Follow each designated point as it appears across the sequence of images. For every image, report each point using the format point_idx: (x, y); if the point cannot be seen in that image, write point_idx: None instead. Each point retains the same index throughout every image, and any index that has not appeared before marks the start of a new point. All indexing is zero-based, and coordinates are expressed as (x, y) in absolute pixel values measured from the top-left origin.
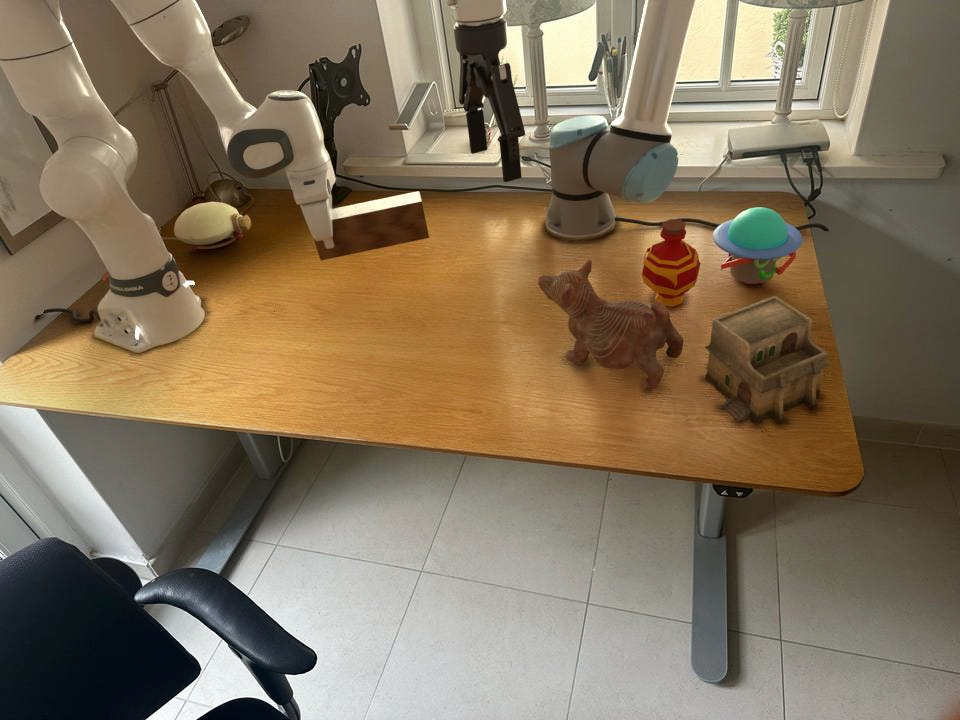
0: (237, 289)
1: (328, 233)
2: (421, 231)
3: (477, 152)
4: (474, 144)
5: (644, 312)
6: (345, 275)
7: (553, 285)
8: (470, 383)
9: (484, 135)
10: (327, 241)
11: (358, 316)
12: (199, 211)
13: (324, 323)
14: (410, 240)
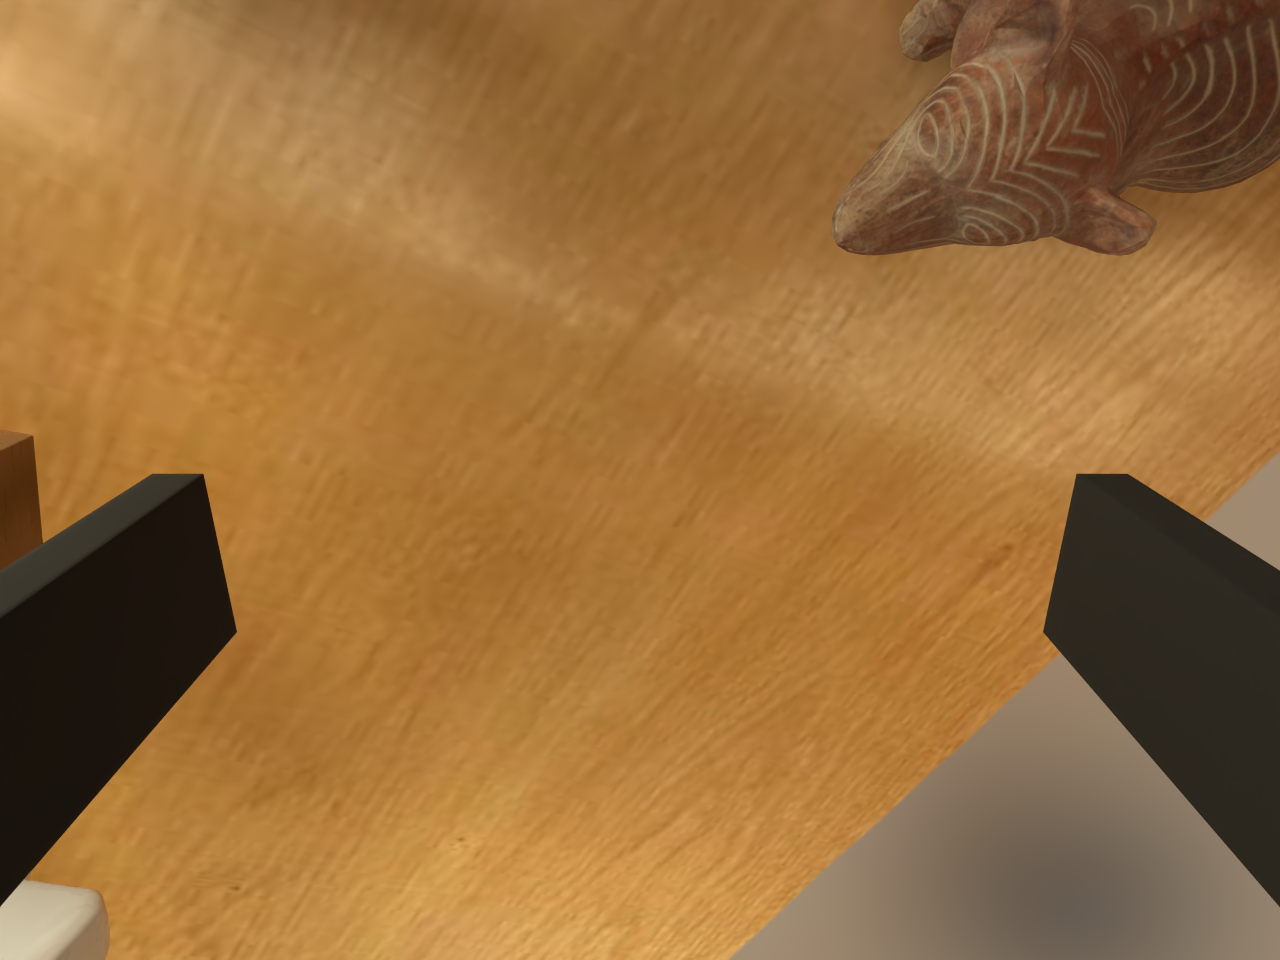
0: None
1: (97, 924)
2: (8, 476)
3: (226, 583)
4: (183, 656)
5: None
6: None
7: (992, 234)
8: (881, 529)
9: (104, 569)
10: None
11: (373, 707)
12: None
13: (366, 791)
14: (36, 514)
